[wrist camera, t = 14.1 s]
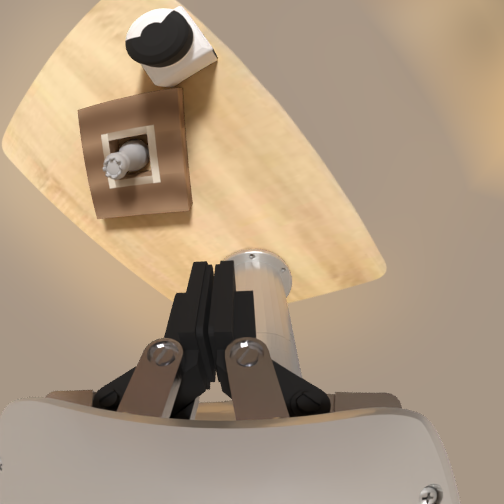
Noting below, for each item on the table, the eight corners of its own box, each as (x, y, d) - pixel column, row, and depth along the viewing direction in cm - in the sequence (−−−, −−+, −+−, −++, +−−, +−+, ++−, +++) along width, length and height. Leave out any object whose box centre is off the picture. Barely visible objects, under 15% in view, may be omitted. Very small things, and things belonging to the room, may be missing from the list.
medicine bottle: (219, 59, 28) (208, 39, 18) (171, 89, 30) (139, 84, 19) (191, 20, 25) (170, -12, 14) (145, 50, 26) (105, 33, 16)
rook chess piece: (134, 175, 35) (111, 194, 28) (115, 152, 33) (88, 166, 26) (157, 156, 34) (137, 171, 27) (138, 131, 32) (113, 141, 25)
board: (192, 202, 38) (189, 210, 35) (105, 210, 38) (97, 219, 35) (182, 88, 30) (177, 87, 27) (88, 108, 30) (77, 110, 27)
